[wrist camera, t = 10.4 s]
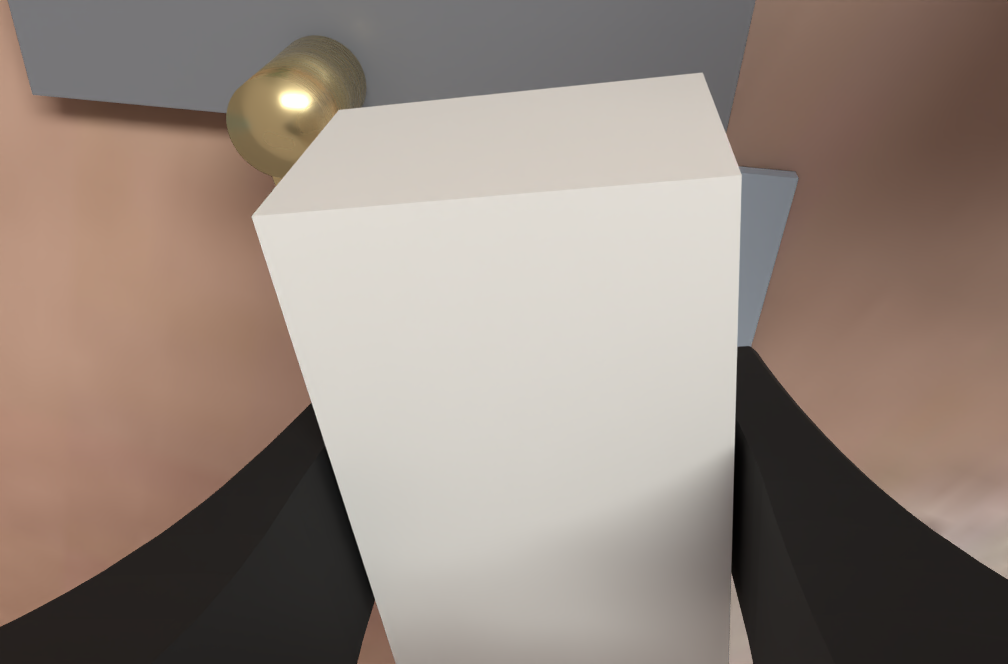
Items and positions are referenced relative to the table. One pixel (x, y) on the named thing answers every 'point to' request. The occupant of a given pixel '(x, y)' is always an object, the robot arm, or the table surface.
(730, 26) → the base plate
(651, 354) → the white rectangular block
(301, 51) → the brass T-key
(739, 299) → the mat
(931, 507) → the table surface
